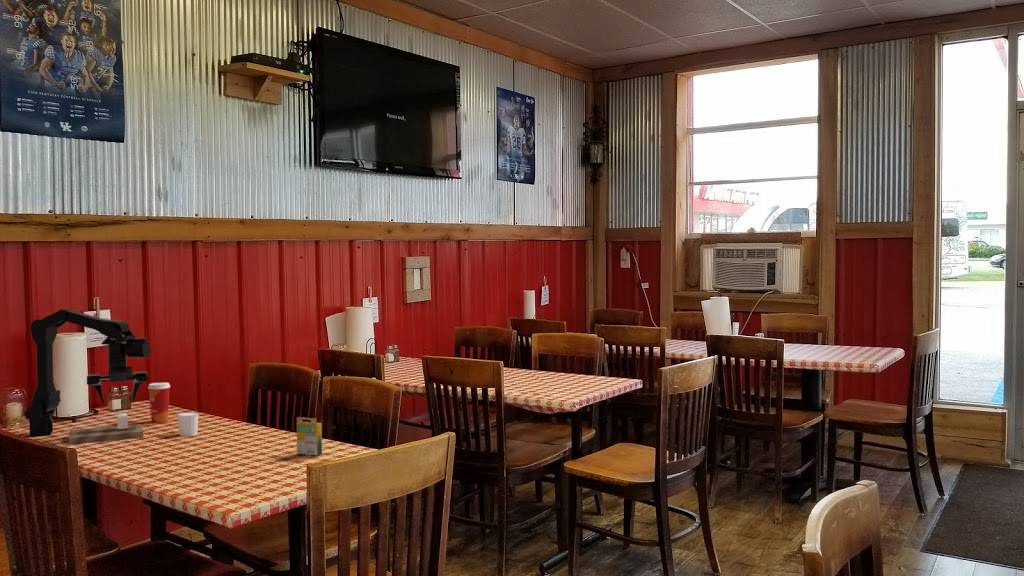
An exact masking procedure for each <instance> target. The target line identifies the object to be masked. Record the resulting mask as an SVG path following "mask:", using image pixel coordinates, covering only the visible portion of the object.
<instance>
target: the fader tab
mask: <svg viewBox="0 0 1024 576" xmlns="http://www.w3.org/2000/svg"><path fill="white" fill-rule="evenodd" d="M116 421H117V422H116V426H117V429H118V430H121V429H127V428H128V425H129V424H128V422H129V421H128V414H127V412H123V413H116Z"/></svg>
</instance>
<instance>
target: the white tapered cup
mask: <svg viewBox="0 0 1024 576" xmlns="http://www.w3.org/2000/svg"><path fill="white" fill-rule="evenodd" d="M199 415H200V414H199V413H198V412H183V413H179V414H177V416H176V417H177V425H178V426H177V427H178V434H179V436H180V437H191V436H196V435H197V434H198V427H199Z"/></svg>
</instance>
